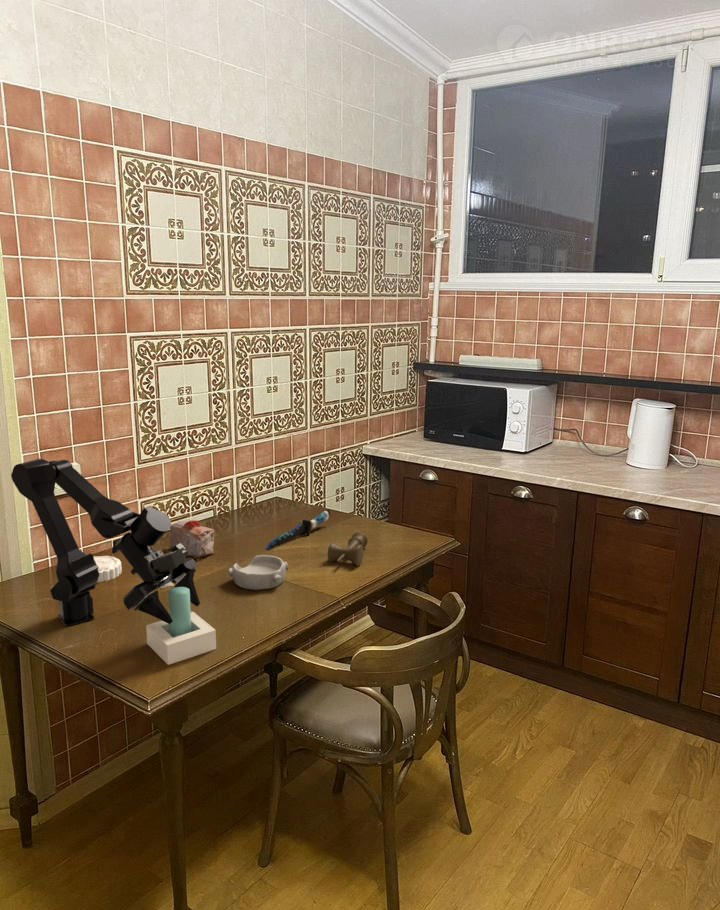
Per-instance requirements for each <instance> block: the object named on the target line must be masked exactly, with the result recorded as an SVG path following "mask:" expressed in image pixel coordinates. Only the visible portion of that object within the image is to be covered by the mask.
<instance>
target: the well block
mask: <svg viewBox="0 0 720 910" xmlns="http://www.w3.org/2000/svg"><path fill="white" fill-rule="evenodd" d="M216 632H217V631H216V629H215V628H214V627H212V626H211V625H210V624H209V623H208V622H207V621H205V619H203V618H202V617H200V616H199V615H198V614H197V613H195V612H194V611H191V632H190V633H187V634H183V635H180V636H177V637H174V638H173V637H172V636H171V633H170V624H168V623H166V622H164V621H162V620H159V621H155V622H152V623H148V624H147V625H146V644H147V645H148V646H149V648H151V649H152V650H153V652H155V653H156V654H157V655H158V656H159V658H160V659H162V661H164V662H165V664H166V665H168V666H169V665H172V664H176V663H178V662H181V661H184V660H187V659H191V658H193V657H196V656H200V655H203V654H205V653H209V652H213V651H214V650H216V649H217V633H216Z"/></svg>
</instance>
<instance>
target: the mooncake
mask: <svg viewBox="0 0 720 910" xmlns="http://www.w3.org/2000/svg"><path fill="white" fill-rule="evenodd" d="M93 557H94V560H95V563H96V564H97V566H98V567H99V569H98V572H99V577H98V581H97V582H96V583H103V582H109V581H110V580H115V578H118V577H119V576H120V575H121V574H122V571H123V570H122V569H123V568H122V561H121V560H120V559H119V558H117V557H115V556H111V555H110V556H109V555H102V556H95V555H93ZM119 574H120V575H119ZM108 580H109V581H108Z"/></svg>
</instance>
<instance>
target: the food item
mask: <svg viewBox="0 0 720 910" xmlns="http://www.w3.org/2000/svg"><path fill="white" fill-rule="evenodd" d="M169 536H170V537H169V538H170V540H169V541H170V548H171V547H173V546H175V545H177V544H180V543H181V544H182V545H183V546H184V547H185V548H186V550H187V552H188V555H187V556H186V557H189V556H190V557H195V558H197V559H199V558H203V557H207V555H208V556H210V555H212V554H214V542H215V539H214V538H215V528H209V527H206V526H202V523H201V522H200V521H199V520H191V519H190V520H188V521H186V520H180V521H177V522H174V523H171V527H170V529H169Z"/></svg>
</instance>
